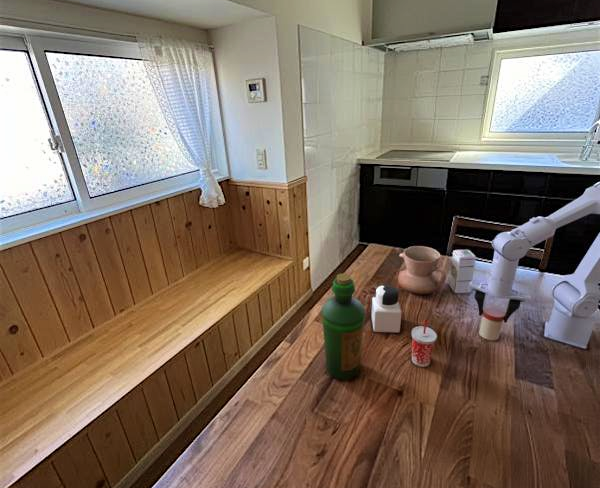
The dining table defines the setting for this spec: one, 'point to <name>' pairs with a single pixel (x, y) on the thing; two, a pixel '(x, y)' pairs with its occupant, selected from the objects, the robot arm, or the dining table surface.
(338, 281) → the bottle
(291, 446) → the dining table surface
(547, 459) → the dining table surface
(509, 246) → the robot arm
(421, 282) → the ceramic jug
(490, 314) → the jar lid
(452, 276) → the syrup box
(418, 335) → the beverage cup
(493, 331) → the jam jar
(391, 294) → the container
